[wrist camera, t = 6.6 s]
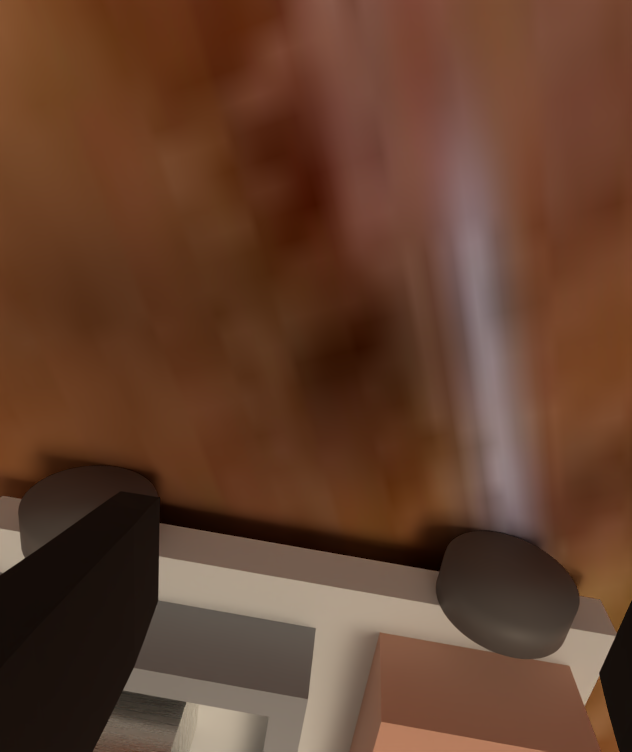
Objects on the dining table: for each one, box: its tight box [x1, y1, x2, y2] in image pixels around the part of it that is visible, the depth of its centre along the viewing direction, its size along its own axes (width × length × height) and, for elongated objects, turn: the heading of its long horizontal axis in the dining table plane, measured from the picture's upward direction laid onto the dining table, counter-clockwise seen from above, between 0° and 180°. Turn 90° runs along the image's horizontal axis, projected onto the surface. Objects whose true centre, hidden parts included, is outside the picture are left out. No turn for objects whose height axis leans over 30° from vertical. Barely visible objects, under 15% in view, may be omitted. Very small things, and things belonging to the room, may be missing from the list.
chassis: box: [0, 466, 617, 752], centre depth 20 cm, size 20×14×6 cm
